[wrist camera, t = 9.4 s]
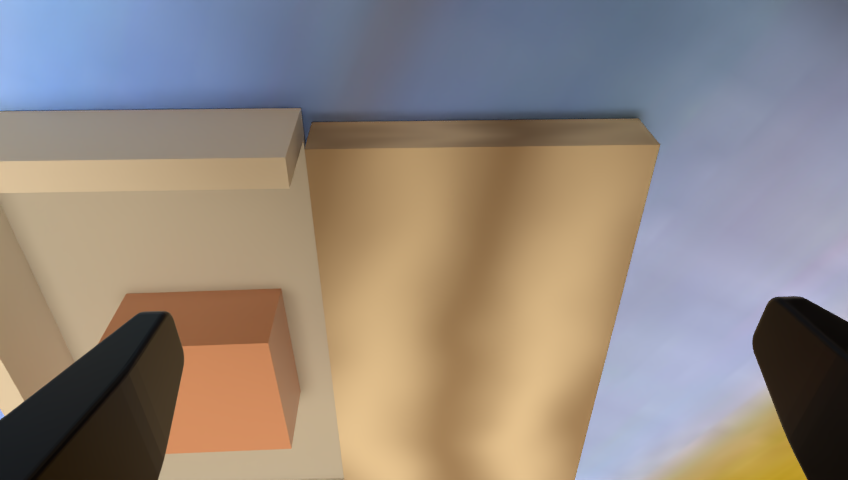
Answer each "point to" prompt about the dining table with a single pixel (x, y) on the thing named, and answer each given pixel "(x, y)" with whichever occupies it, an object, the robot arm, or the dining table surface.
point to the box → (161, 249)
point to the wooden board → (472, 287)
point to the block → (227, 368)
